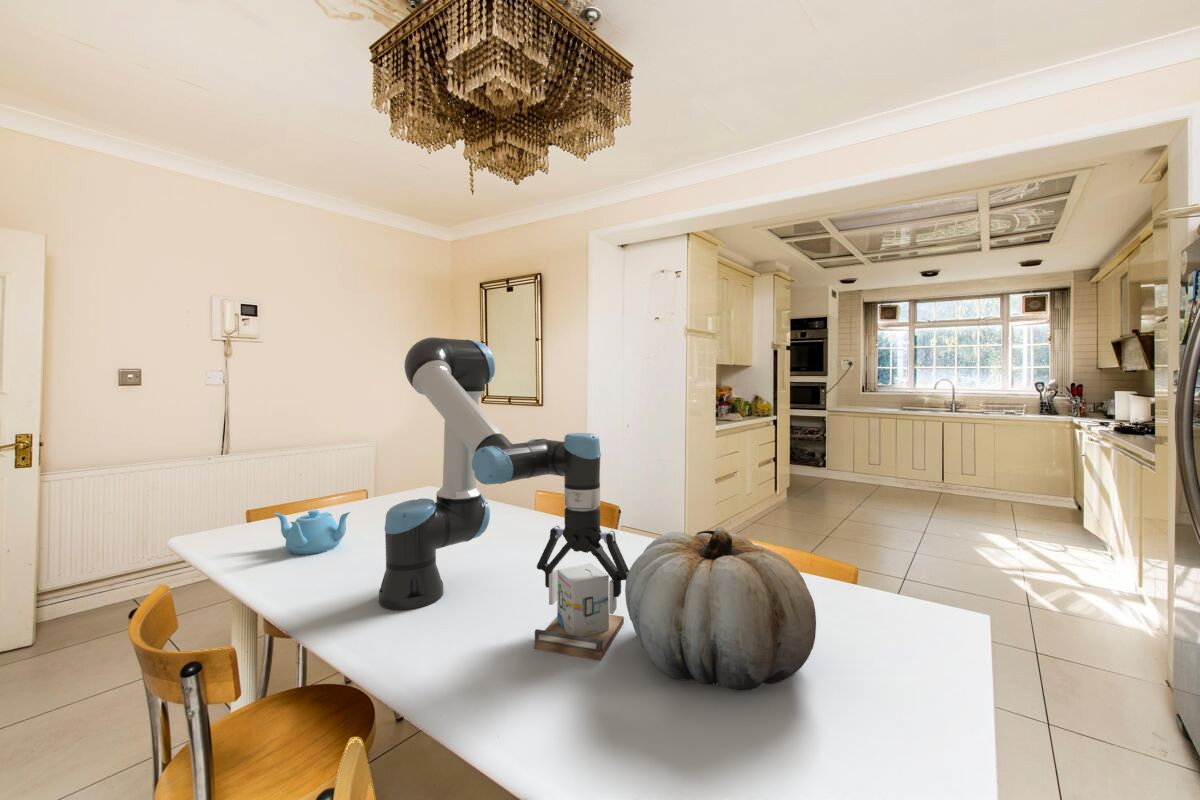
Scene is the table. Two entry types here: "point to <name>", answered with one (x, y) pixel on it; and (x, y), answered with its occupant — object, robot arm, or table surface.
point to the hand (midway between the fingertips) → (582, 606)
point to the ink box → (583, 600)
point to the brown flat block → (577, 640)
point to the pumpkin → (720, 610)
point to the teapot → (312, 532)
